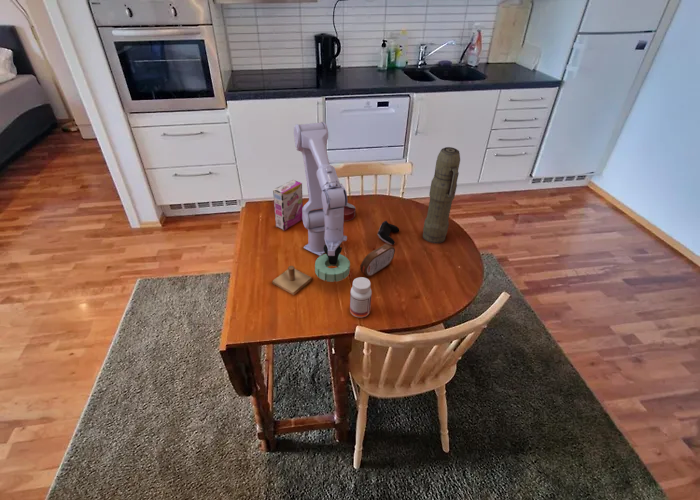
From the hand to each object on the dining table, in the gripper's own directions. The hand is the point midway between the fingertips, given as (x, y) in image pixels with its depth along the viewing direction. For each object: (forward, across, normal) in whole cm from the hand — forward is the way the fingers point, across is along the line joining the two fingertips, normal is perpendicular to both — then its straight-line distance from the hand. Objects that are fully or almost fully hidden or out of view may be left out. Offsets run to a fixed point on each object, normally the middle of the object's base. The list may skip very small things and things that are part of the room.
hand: (333, 260), depth 127 cm
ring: (+1, -4, 0) cm, 4 cm away
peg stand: (+7, -4, +13) cm, 15 cm away
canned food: (+7, +39, 0) cm, 40 cm away
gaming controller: (+7, +25, -18) cm, 32 cm away
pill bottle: (+7, -15, -10) cm, 19 cm away
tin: (+7, +5, -14) cm, 17 cm away
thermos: (+7, +28, -36) cm, 46 cm away
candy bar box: (+7, +30, +21) cm, 37 cm away
